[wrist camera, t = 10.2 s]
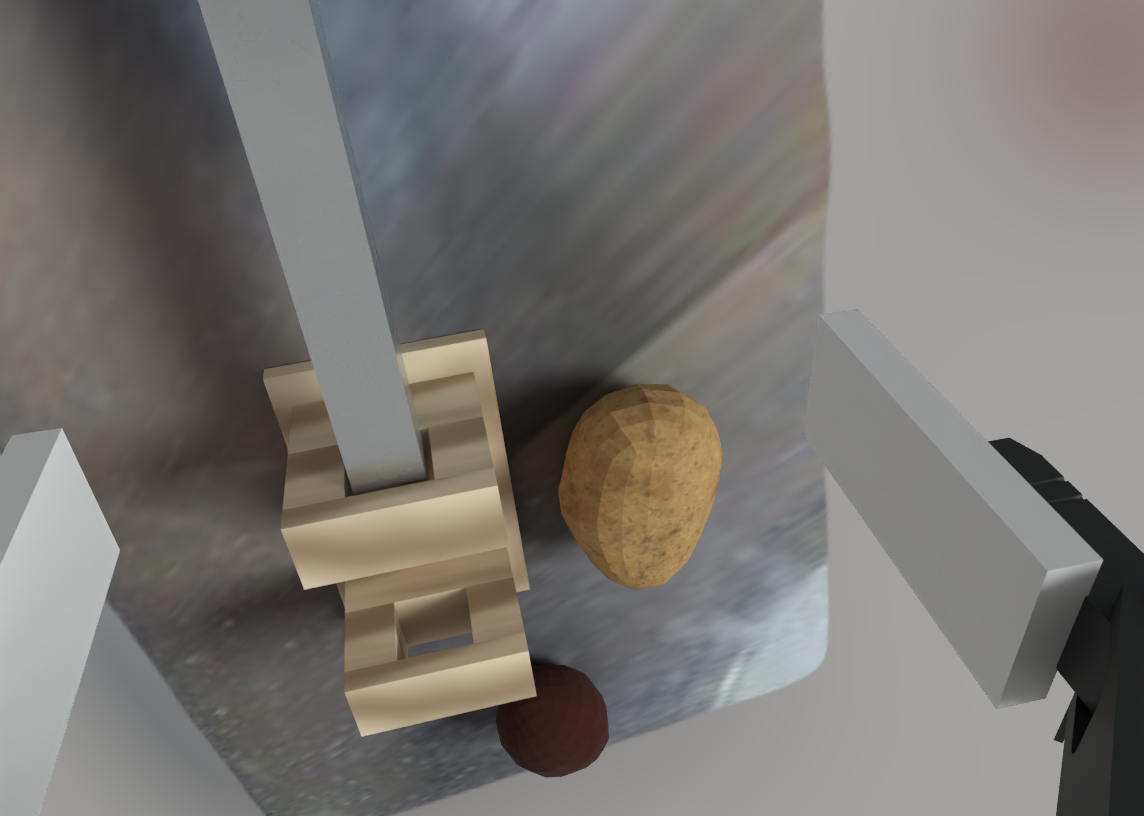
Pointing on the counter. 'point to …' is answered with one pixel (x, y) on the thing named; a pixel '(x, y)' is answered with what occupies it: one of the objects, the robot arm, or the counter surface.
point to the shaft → (320, 229)
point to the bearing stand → (414, 542)
